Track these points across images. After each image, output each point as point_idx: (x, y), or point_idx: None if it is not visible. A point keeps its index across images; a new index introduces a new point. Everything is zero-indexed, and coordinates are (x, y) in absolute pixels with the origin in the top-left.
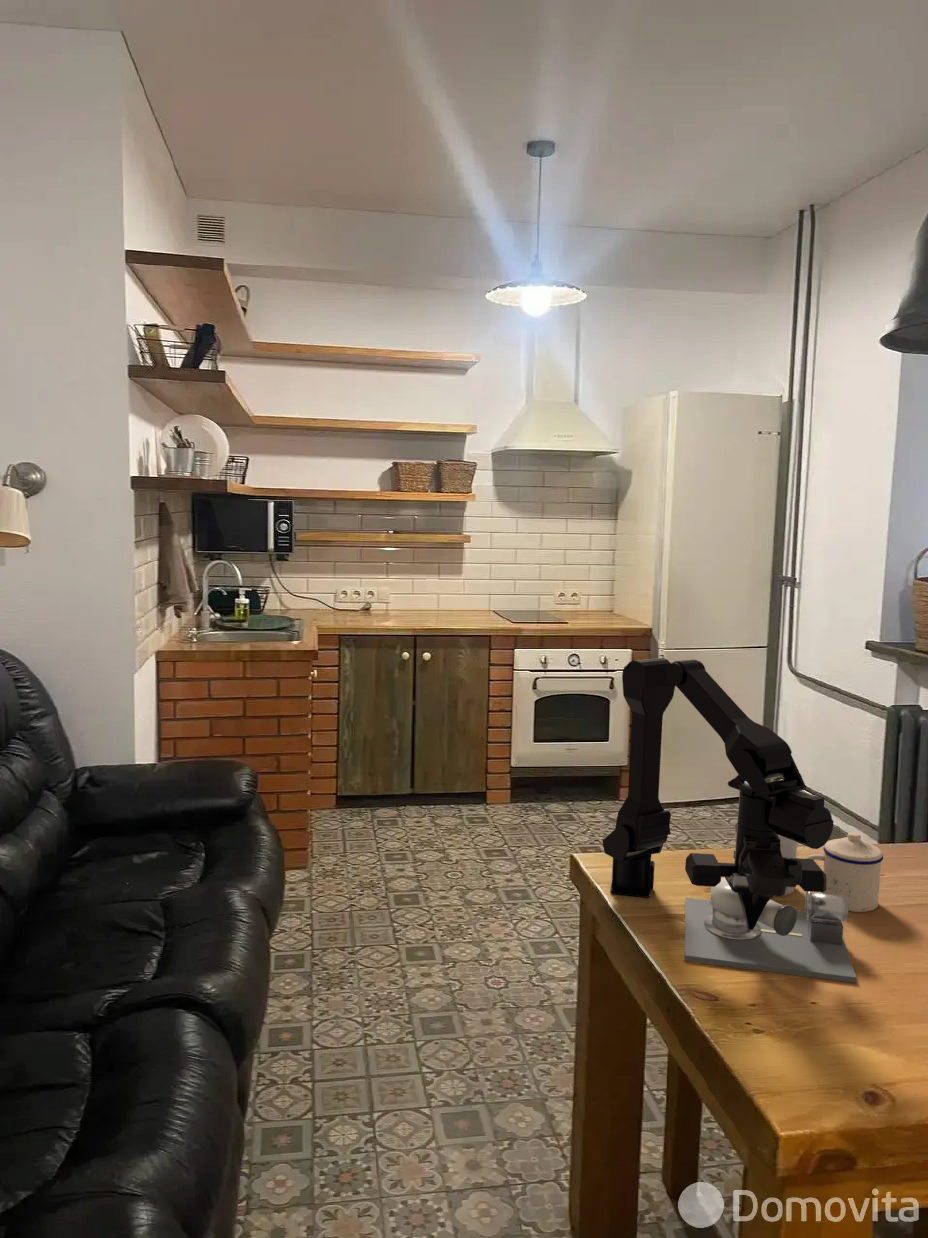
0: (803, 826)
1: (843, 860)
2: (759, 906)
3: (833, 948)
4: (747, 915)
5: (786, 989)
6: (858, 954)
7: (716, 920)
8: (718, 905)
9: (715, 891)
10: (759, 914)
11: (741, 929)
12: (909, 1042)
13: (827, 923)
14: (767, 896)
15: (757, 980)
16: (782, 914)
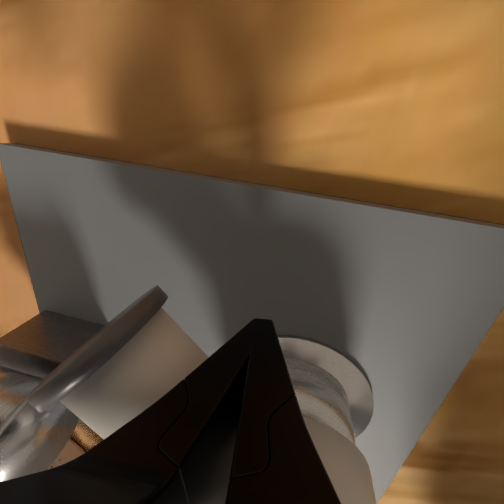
0: None
1: None
2: (190, 407)
3: (60, 295)
4: (279, 365)
5: (199, 58)
6: (25, 288)
7: (348, 414)
8: (362, 473)
9: None
10: (209, 363)
11: None
12: None
13: (30, 360)
14: (49, 499)
15: (287, 112)
16: (87, 349)
